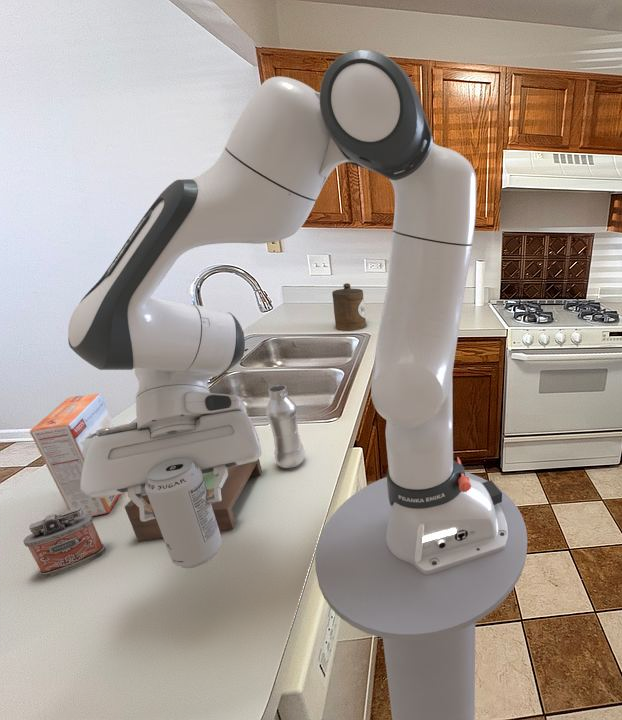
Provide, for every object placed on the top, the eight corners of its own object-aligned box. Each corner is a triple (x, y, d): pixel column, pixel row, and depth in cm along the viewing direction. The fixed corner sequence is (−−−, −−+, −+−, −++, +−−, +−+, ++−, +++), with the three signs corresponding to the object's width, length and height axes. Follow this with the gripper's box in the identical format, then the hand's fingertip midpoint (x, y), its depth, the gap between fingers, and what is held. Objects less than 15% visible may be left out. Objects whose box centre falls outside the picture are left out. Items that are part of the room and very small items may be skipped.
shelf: (262, 471, 92) (255, 442, 89) (233, 529, 76) (223, 495, 73) (185, 479, 89) (176, 449, 86) (137, 541, 73) (124, 507, 70)
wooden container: (369, 328, 200) (365, 284, 192) (339, 332, 193) (333, 287, 185) (362, 321, 212) (357, 280, 204) (333, 324, 205) (327, 282, 197)
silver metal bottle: (296, 452, 99) (282, 379, 92) (312, 462, 96) (299, 387, 88) (271, 465, 94) (254, 389, 87) (286, 475, 91) (270, 397, 83)
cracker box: (100, 479, 89) (66, 396, 81) (134, 473, 91) (103, 391, 83) (70, 523, 77) (26, 429, 69) (109, 514, 79) (71, 423, 71)
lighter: (40, 581, 65) (14, 534, 61) (42, 568, 67) (18, 522, 64) (106, 555, 70) (85, 510, 66) (106, 543, 72) (86, 499, 69)
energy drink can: (182, 543, 59) (152, 458, 53) (227, 533, 61) (203, 450, 55) (166, 576, 54) (131, 486, 48) (217, 565, 55) (189, 477, 50)
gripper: (70, 425, 51) (68, 536, 46) (250, 394, 60) (263, 484, 55) (94, 438, 56) (94, 538, 52) (256, 407, 65) (268, 491, 61)
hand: (183, 510), depth 54 cm, fingers closed on energy drink can, 6 cm apart
